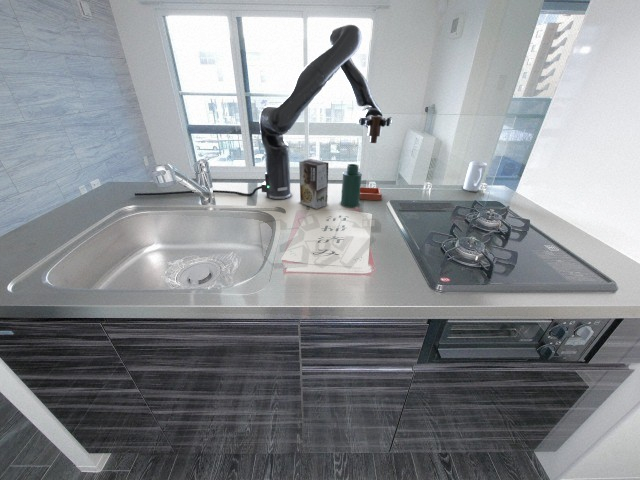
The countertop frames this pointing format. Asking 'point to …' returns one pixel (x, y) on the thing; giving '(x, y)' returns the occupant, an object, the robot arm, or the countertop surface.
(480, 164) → the mug
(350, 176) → the flask
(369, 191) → the tray
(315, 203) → the coffee box
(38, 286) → the countertop surface
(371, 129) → the stopper
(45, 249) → the countertop surface
